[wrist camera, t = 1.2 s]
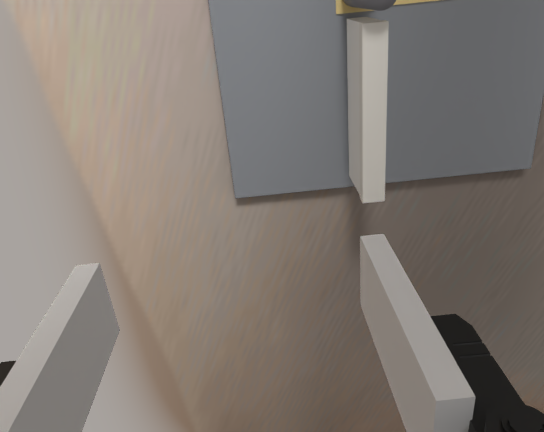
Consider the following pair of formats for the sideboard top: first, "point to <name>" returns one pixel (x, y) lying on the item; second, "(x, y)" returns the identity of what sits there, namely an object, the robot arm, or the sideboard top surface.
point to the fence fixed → (370, 4)
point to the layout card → (400, 89)
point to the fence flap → (367, 105)
